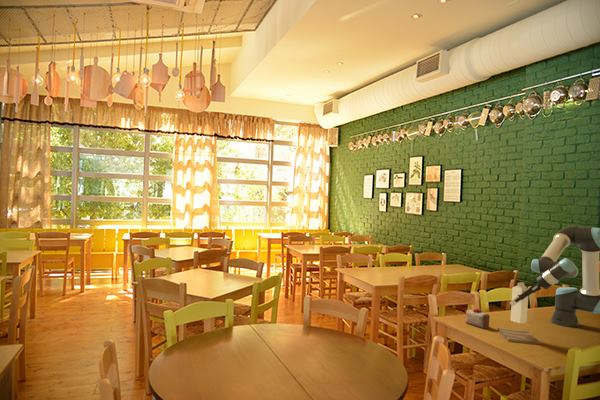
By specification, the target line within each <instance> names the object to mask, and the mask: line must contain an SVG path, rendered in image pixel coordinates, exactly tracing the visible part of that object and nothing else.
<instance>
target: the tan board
mask: <svg viewBox="0 0 600 400" xmlns="http://www.w3.org/2000/svg"><path fill="white" fill-rule="evenodd" d="M497 331H498V332H499V333H500V334H501V335H502V337H503V338H504V339H505V340H506V341H507V342H513V343H519V344H520V343H523V344H530V345H539V346H540V345H541V341H540V340H538V339H537V338H536V337H535V336H534V335H533V334H531V333H530V332H529V331H528V330H523V329H517V328H515V329H513V328H505V327H503V328H502V327H497Z"/></svg>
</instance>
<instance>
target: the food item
mask: <svg viewBox="0 0 600 400" xmlns="http://www.w3.org/2000/svg"><path fill="white" fill-rule="evenodd" d="M465 323H466V324H468V325H472V326H474V327H478V328H481V329H489V328H490V314H489V313H485V312H483V311H482V310H481V309H478V308H475V309H467V310H465Z"/></svg>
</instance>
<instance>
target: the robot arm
mask: <svg viewBox="0 0 600 400" xmlns="http://www.w3.org/2000/svg"><path fill="white" fill-rule="evenodd" d="M570 245H571V246H572V245H574V246H578V249H579V251H581V252H582V253H581V259H582V261H581V264H582V267H581V269H582V274H581V275H582V288H580V289H579V290H578V288H577V287H571V286H563V287H557V288H556V290H555V297H554V298H555V302H554V309H553V313H552V315H551V318H550V322H551V323H553V324H556V325H559V326H564V327H570V328H577V327H579V325H580V324H579V319H578V315H577V311H582V312H586V313H592V314H596V315H600V227H592V226H581V225H580V226H579V225H570V226H566V227H563V228H562V229H560V230H558V231H557V232H556V233H555V234H554V236H553V238H552V241H551V243H550V244H549V245H548V247H547V248H546V250H545V251H544V252H543V254H542V255H541V256H540V258H539V259H538V258H534V259H532V261H531V263H530V268H531V271H532V272H534V273H539V274H540V275H539V276H537V277H536V282H535V283H533V284H532V285H531V286H530V287H528V290H527V291H525V292H524V293H523V294H521V295H518V297H516V298H515V299H514V300H512V299H511V301H509V304H510V306H511V305H512V307H513V306H514V305H516V304H517V303H519V302H520V301H522V300H523V299H524V298H525V297H527V296H528V299H529V296H530V295H532V294H534V293H536V292H539V291H540V290H541V289H542V288H543V289H545V290H548V289H550V288H551V287H552V285H555V284H559V281H561V280H562V279H564V278H569V279H572V278H576V277H577V276H578V274H579V269H578V267H577V265H575V263H574V262H573V261H572V260H571V259H570V258H568V257H564V258H563V259H561V260H560V261H558V259H559V258H560V256H561V255H562V254H563V252H564V250H566V248H567V247H569V246H570Z"/></svg>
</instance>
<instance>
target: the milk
mask: <svg viewBox="0 0 600 400" xmlns="http://www.w3.org/2000/svg"><path fill="white" fill-rule="evenodd" d="M511 288H512V289H511V291H512V292H511V301H512V300H514V299H515V298H516V297H518V295H521V294H523V293H524V292H525V291H527V290H528V289H529V287H527V286H526V285H525V282H524V281H523V282H522V281H521V282H517V285H515V286H513V287H511ZM528 297H529V296H527V297H525V298H524V299H523V300H522V301H520V302H519V303H517V304H516V305H514V306H513V307H512V305H511V304H510V306H511V307H510V322H514V323H517V324H526V323H527V322H528V309H529V308H528V307H529V306H528V305H529V298H528Z"/></svg>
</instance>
